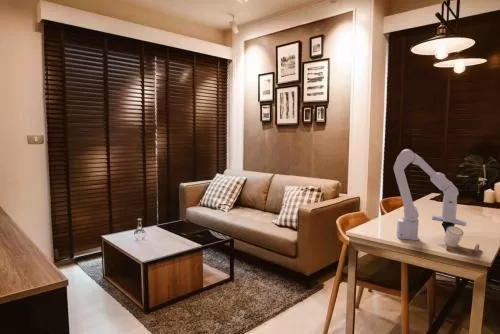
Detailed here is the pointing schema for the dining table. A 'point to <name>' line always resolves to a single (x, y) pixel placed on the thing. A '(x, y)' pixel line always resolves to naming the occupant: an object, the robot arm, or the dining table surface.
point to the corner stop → (463, 250)
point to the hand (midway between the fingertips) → (447, 237)
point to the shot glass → (453, 235)
